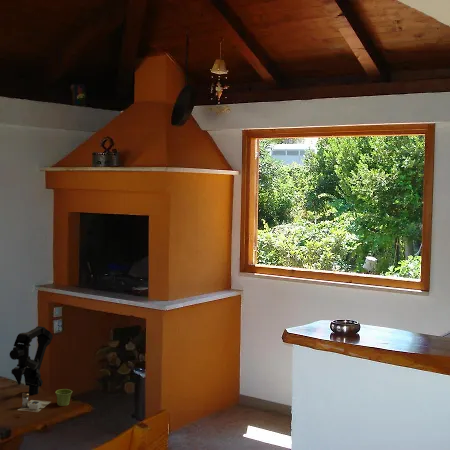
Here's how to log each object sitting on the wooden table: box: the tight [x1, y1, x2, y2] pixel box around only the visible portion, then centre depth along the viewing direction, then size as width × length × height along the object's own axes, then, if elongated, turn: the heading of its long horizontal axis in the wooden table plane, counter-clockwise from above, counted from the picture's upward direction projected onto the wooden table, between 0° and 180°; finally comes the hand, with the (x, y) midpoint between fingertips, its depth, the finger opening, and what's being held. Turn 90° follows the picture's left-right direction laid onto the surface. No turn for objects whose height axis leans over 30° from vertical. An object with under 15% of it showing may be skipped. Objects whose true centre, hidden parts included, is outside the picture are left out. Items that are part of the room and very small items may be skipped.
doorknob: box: [21, 392, 30, 408], centre depth 343 cm, size 4×4×8 cm
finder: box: [29, 400, 42, 410], centre depth 342 cm, size 5×5×3 cm
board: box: [17, 399, 51, 413], centre depth 347 cm, size 18×12×2 cm, turn 173°
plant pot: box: [55, 388, 73, 407], centre depth 352 cm, size 9×9×9 cm
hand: (22, 381), depth 356 cm, fingers open, 9 cm apart
